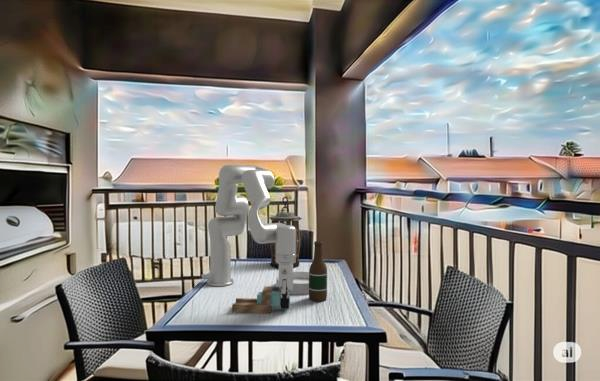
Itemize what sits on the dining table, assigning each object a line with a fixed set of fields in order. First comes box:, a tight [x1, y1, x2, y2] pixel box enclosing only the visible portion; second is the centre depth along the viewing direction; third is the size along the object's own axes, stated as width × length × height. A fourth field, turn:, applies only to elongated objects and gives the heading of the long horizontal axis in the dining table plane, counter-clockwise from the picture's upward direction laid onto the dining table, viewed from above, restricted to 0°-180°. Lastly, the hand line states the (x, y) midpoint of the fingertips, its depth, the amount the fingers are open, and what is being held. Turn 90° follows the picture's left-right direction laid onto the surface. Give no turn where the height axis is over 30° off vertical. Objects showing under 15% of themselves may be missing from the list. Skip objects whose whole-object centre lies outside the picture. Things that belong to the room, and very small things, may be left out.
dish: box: [275, 271, 309, 296], centre depth 173 cm, size 22×22×5 cm
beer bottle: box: [308, 240, 328, 303], centre depth 156 cm, size 8×8×24 cm
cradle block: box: [269, 285, 281, 292], centre depth 152 cm, size 8×8×5 cm
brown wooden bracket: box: [231, 285, 273, 314], centre depth 142 cm, size 14×8×8 cm, turn 88°
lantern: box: [268, 196, 302, 269], centre depth 218 cm, size 19×19×40 cm
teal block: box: [256, 291, 291, 307], centre depth 142 cm, size 12×4×4 cm, turn 88°
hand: (285, 305), depth 142 cm, fingers closed on teal block, 4 cm apart
